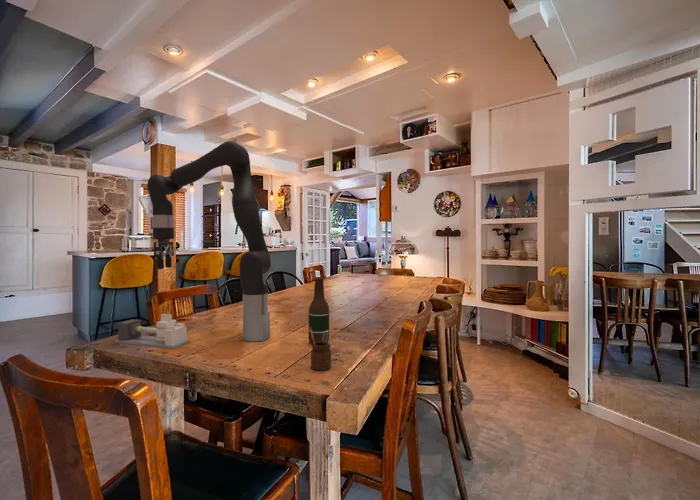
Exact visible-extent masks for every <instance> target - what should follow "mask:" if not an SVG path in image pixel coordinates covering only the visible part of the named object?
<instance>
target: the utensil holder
mask: <svg viewBox="0 0 700 500" xmlns="http://www.w3.org/2000/svg"><path fill="white" fill-rule="evenodd" d="M310 331H311V335H312V339H313V342H314V338H313V334H312V330H311V327H310ZM327 331H328V330H326V331H325V332H327ZM327 333H328V332H327ZM323 335H325V334H323ZM327 336H328V335H327ZM326 338H327V337H326ZM330 340H331V337H329V340H328V342H323V341H320V342H314V343H313V344H311V348H312V349H311V352H310V366H311V369H313V370H314V371H326V370H328V369H330V368H331V366H332V352H331V349H330V348H331V345H330ZM326 341H327V340H326Z"/></svg>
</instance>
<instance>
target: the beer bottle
mask: <svg viewBox="0 0 700 500" xmlns="http://www.w3.org/2000/svg"><path fill="white" fill-rule="evenodd" d="M313 281H314V287H313V288H314V290H313V291H314V292H313V298H312V299H313V300H312V301H311V303H310V304H309V308H308V343H309V344H310V345H313V343H314V342H320V341H323V342H328V343H329V341H330V305H329V304H328V302H327V300H326V298H325V297H326V296H325V289H324V288H325V287H324V281H325V279H324V277H323V276H316V277H314V280H313ZM310 327H311V330H312V334H313V338H314V342H313V339H312V335H311V331H310ZM326 330H328V331H327V332H328V333H327V332H325V331H326ZM323 334H325V335H323ZM327 335H328V336H327ZM326 337H327V338H326ZM326 340H327V341H326ZM328 340H329V341H328Z"/></svg>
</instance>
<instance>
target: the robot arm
mask: <svg viewBox="0 0 700 500" xmlns="http://www.w3.org/2000/svg"><path fill="white" fill-rule="evenodd" d="M250 159H251V158H250V155H249V152H248V150H247V149H246V148H245V147H244V146H243V145H241V144H239V143H238V142H237V141H235V140H227V141H224V142H223V143H221V144H219V145H217V147H215V148H213V149H211V150H210V151H208V152H207V153H206V154H204V155H202V156H201V157H199V158H197V159H195V160H193V161H191V162H189V163H186V164H184V165H182V166H179V167H177V168H174V169H173V170H172V171H171V172H170V175H169V176H164V175H160V174H152V175H150V177H149V178H148V180H147V184H146V185H147V186H146V187H147V192H148V196H149V198H150V201H151V204H152V221H151V225H152V239H153V240H157V241H154V242H153V258H154V259H156V268H157V270H164V268H167V269H168V268H172V264H173V263H172V261H173V260H172V259H173V257H174V256H175V254H174V253H175V252H174V241H171V240H174V239H175V220H174V211H173V210H174V207H173V203H172V201H170V200H169V199H168V197H167V196H170V195H172V194H175V193H176V192H178V191H180V190H181V189H182V188H184V187H185V186H187V185H190V184H193V183H195V182H197V181H199V180H201V179H202V178H204V177H205V175H207V174H208V173H209V172H210V171H212V170H214V169H217V168H220V167H223V166H227V167H229V168H230V170H231V172H230V173H231V175H232V179H233V190H232V191H233V192H232V196H231V206H232V211H233V215H234V216H233V217H234V219H235V222H236V224H237V226H238V228H239V230H240V231H241V233H242V235H243V236H244V239H245V240H246V243H247V249H248V252H247V251H246V252H245V253H244V254H242V256H241V258H240V259H239V281H240V287H241V290H242V340H243V341H246V342H263V341H266V340H267V339H269V338H270V337H271V313H270V312H269V309H268V307H269V304H268V303H269V301H268V300H269V299H268V298H269V288H268V285H267V284H265V282H264V277H263V276H264V274H267V273H268V272H269V271H270V269H271V264H272V260H271V257H270V253H269V249H268V246H267V243H266V240H265V236H264V231H263V225H262V221H261V217H260V212H259V205H258V201H257V196H256V192H255V188H254V184H253V179H252V173H251V172H252V171H251V160H250Z"/></svg>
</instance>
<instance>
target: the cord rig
mask: <svg viewBox="0 0 700 500" xmlns="http://www.w3.org/2000/svg"><path fill="white" fill-rule="evenodd" d="M117 324H118V325H117V326H118V328H117V331H118V335H117V336H118V339H115V340H114V343H116V344H123V345H134V346H144V347H153V348H162V349H172V350H175V349H177V348H179V347H181V346H185V345H186V344H190V343H191V339H187V326H186V323H185V322H176V327H175V326H166V330H165V341H161V340H157V336H153V335H152V336H150V335H142V332H143V333H152V334H157V328H156V327H151V326H142V320H141V319H128V320H124V321H121V322H117Z"/></svg>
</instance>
